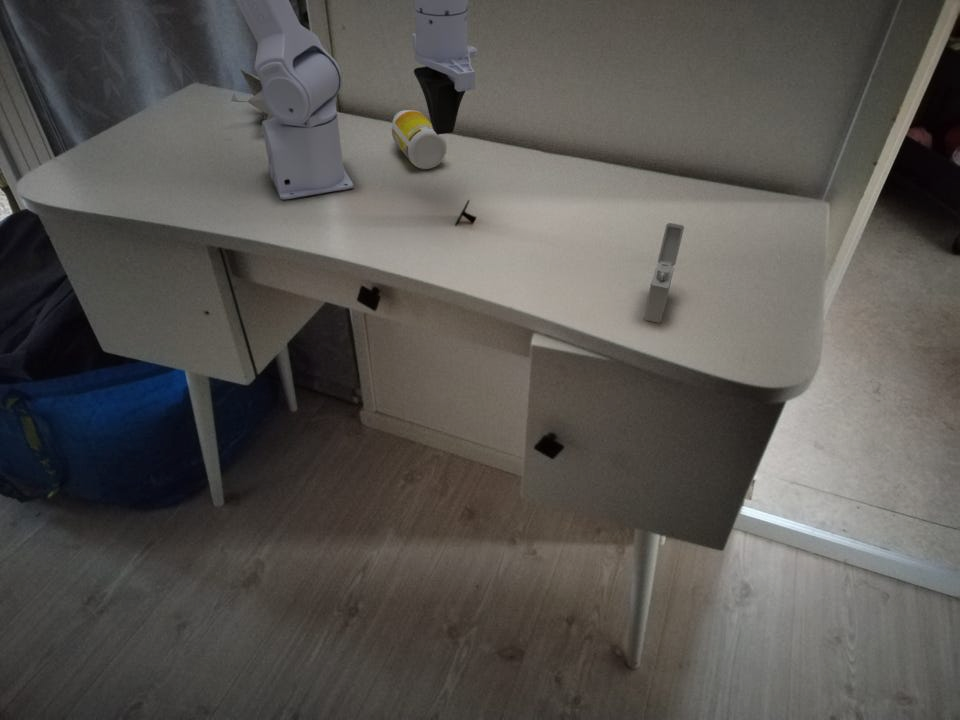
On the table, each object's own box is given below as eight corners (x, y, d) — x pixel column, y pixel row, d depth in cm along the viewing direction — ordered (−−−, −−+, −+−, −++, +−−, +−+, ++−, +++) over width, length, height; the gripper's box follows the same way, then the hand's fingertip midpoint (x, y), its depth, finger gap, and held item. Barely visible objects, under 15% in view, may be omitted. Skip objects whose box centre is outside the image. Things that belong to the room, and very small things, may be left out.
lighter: (660, 323, 71) (675, 255, 66) (643, 319, 72) (657, 252, 67) (670, 285, 76) (685, 220, 71) (654, 282, 77) (668, 217, 72)
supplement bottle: (452, 134, 95) (427, 107, 102) (415, 128, 92) (391, 100, 99) (442, 173, 98) (417, 144, 105) (405, 168, 95) (382, 138, 102)
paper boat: (308, 123, 105) (247, 119, 100) (295, 150, 110) (236, 148, 105) (285, 58, 108) (225, 51, 103) (273, 87, 113) (215, 82, 108)
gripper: (503, 23, 72) (498, 150, 81) (451, -11, 82) (452, 105, 91) (438, 30, 70) (440, 160, 78) (393, -6, 80) (400, 112, 89)
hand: (443, 131), depth 84 cm, fingers closed
